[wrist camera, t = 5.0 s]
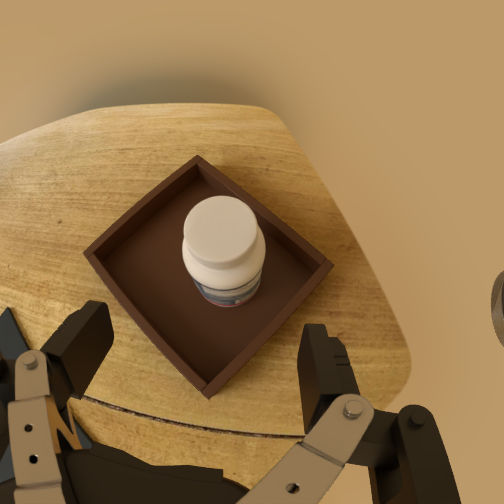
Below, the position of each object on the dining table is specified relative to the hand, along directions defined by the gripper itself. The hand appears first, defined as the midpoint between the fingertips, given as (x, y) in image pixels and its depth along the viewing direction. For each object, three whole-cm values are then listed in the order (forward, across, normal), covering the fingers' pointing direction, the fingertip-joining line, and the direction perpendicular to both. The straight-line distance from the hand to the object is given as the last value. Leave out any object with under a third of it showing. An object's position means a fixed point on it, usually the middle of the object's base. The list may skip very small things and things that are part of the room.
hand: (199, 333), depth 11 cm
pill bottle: (+12, 0, +4) cm, 13 cm away
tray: (+13, +2, +4) cm, 13 cm away
